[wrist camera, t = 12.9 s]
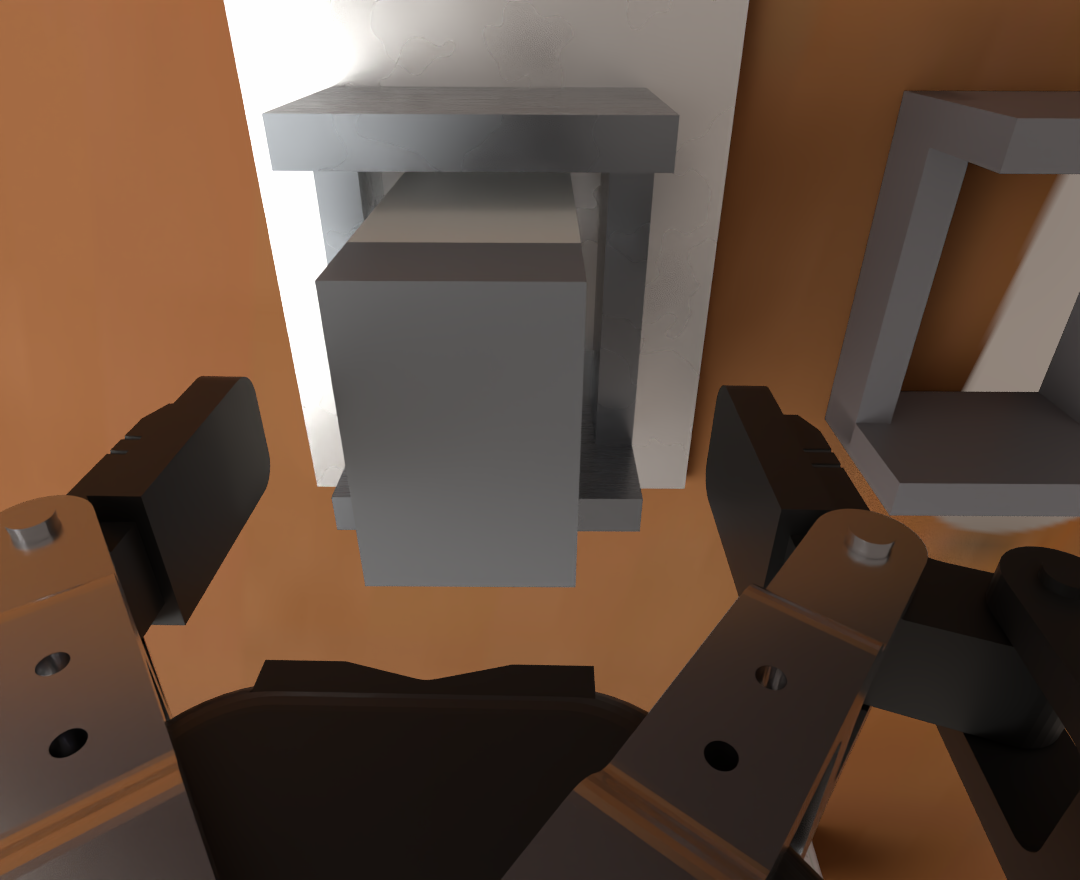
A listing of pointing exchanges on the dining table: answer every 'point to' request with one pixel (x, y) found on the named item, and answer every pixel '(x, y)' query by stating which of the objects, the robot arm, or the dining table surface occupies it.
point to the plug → (462, 379)
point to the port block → (512, 146)
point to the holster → (898, 305)
